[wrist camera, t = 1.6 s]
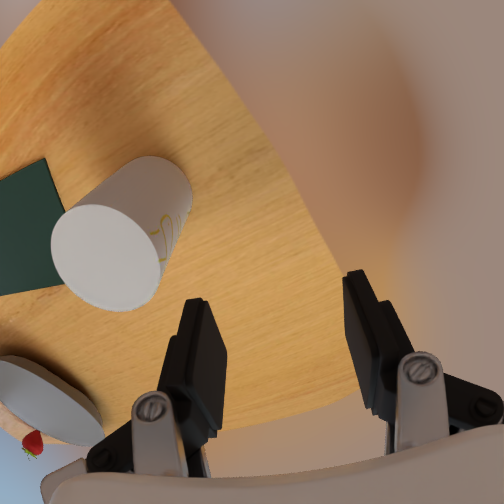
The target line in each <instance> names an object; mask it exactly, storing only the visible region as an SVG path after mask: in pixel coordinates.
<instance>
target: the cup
mask: <svg viewBox="0 0 504 504" xmlns="http://www.w3.org/2000/svg"><path fill="white" fill-rule="evenodd" d="M191 207H192V190H191V186H190V183H189V181H188V179H187V177H186V176H185V174H184V173H183V172H182V170H181V169H180V168H179V167H177V166H176V165H175V164H174V163H172V162H170V161H169V160H166V159H164V158H161V157H156V156H143V157H139V158H136V159H134V160H132V161H130V162H129V163H127V164H126V165H124V166H123V167H122V168H120V169H119V170H118V171H116V172H115V173H114V174H112V175H111V176H110V177H109V178H107V179H106V180H105V181H103V182H102V183H101V184H100V185H98V186H97V187H96V188H95V189H93V190H92V191H91V192H90V193H88V194H87V195H86V196H85V197H83V198H82V199H81V200H80V201H79V202H77V203H76V204H75V205H74V206H73V207H72V208H70V209H69V210H68V211H67V212H66V213H65V214H63V215H62V216H61V218H60V219H59V220H58V221H57V223H56V225H55V227H54V229H53V232H52V237H51V253H52V258H53V262H54V265H55V267H56V269H57V271H58V273H59V275H60V277H61V278H62V280H63V281H64V283H65V284H66V285H67V286H68V287H69V289H70V290H71V291H72V292H74V293H75V294H76V295H77V296H78V297H80V298H81V299H82V300H84V301H86V302H87V303H89V304H91V305H93V306H95V307H98V308H101V309H104V310H108V311H116V312H123V311H130V310H134V309H137V308H139V307H141V306H143V305H144V304H146V303H147V302H148V301H149V300H150V299H151V298H152V297H153V296H154V294H155V292H156V290H157V288H158V286H159V283H160V281H161V278H162V276H163V273H164V271H165V269H166V266H167V264H168V261H169V259H170V257H171V254H172V252H173V250H174V247H175V245H176V243H177V240H178V238H179V236H180V233H181V231H182V229H183V226H184V224H185V222H186V220H187V218H188V215H189V213H190V210H191Z"/></svg>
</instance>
